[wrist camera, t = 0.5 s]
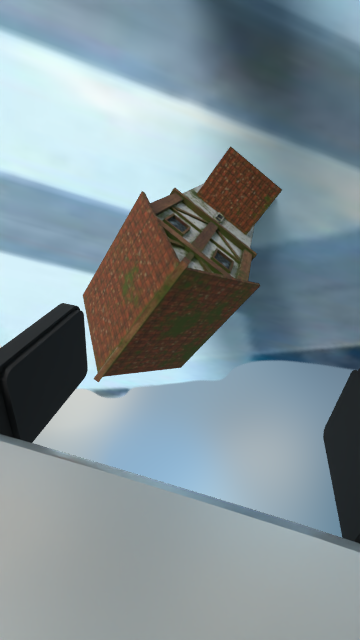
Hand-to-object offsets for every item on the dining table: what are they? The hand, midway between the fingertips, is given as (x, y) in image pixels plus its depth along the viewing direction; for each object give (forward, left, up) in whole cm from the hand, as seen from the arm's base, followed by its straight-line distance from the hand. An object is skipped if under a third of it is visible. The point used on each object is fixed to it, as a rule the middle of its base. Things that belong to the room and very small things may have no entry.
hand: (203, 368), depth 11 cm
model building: (-2, -4, -36) cm, 36 cm away
